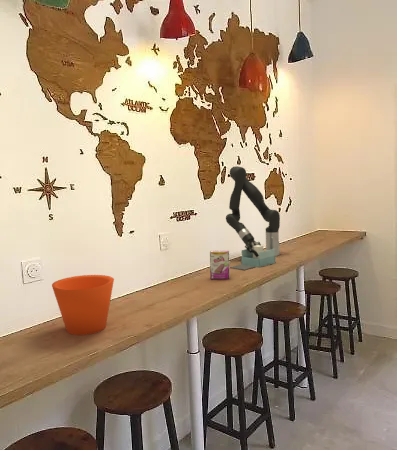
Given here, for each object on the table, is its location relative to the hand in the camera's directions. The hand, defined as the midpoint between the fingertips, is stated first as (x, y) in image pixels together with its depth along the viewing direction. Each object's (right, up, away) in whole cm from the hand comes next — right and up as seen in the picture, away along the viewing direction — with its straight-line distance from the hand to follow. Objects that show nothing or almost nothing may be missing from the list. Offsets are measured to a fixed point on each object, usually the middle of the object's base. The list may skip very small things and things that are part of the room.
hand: (260, 255), depth 307 cm
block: (-1, -6, +2) cm, 6 cm away
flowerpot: (-88, -23, -114) cm, 146 cm away
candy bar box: (-28, -11, -35) cm, 47 cm away
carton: (-1, -6, +2) cm, 6 cm away
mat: (-13, -7, -9) cm, 17 cm away
